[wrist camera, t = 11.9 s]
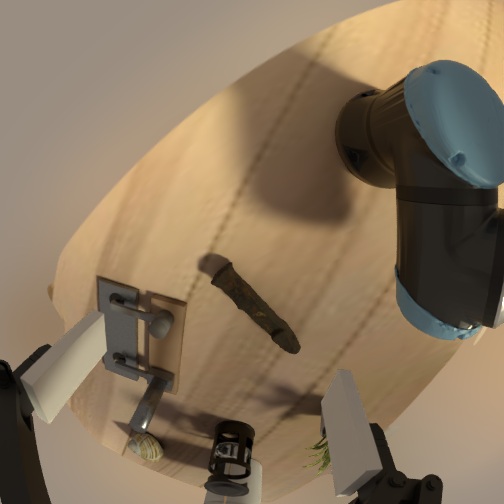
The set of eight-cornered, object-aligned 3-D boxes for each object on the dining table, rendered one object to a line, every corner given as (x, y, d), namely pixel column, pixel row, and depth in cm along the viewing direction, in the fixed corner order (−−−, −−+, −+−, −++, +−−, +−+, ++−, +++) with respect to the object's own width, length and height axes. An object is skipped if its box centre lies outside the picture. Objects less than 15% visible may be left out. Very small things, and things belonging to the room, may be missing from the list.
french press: (228, 414, 52) (212, 502, 30) (264, 428, 53) (260, 513, 31) (205, 435, 55) (187, 511, 33) (238, 448, 56) (228, 522, 34)
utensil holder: (210, 471, 61) (201, 516, 44) (212, 450, 57) (201, 502, 40) (258, 477, 61) (255, 523, 44) (267, 457, 57) (265, 510, 40)
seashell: (161, 456, 60) (139, 471, 51) (141, 431, 63) (117, 444, 54) (177, 449, 57) (153, 466, 48) (155, 422, 60) (129, 437, 51)
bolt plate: (139, 289, 45) (135, 292, 43) (139, 377, 51) (136, 381, 49) (102, 278, 45) (98, 280, 43) (107, 365, 51) (105, 369, 49)
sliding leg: (174, 373, 47) (151, 428, 34) (174, 384, 48) (152, 437, 34) (115, 353, 47) (81, 398, 33) (116, 364, 48) (84, 408, 34)
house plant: (282, 406, 50) (284, 469, 35) (340, 375, 47) (358, 439, 32) (317, 433, 53) (324, 488, 37) (368, 406, 50) (387, 462, 34)
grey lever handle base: (187, 303, 45) (176, 320, 39) (178, 390, 51) (170, 409, 45) (117, 282, 45) (100, 296, 39) (120, 371, 51) (109, 387, 45)
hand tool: (212, 273, 43) (206, 285, 39) (231, 258, 42) (226, 268, 38) (285, 350, 46) (286, 366, 42) (304, 338, 46) (306, 354, 41)
